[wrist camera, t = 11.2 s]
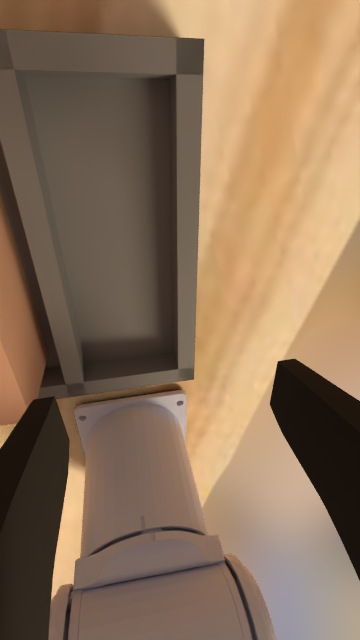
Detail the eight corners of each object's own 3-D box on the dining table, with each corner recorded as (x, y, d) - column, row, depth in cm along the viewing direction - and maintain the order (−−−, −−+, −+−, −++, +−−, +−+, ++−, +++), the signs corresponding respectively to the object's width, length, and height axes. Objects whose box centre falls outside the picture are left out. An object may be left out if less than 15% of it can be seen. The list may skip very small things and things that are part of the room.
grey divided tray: (185, 354, 21) (193, 379, 19) (-37, 383, 19) (-55, 414, 17) (188, 53, 13) (204, 39, 11) (-211, 37, 11) (-289, 14, 8)
